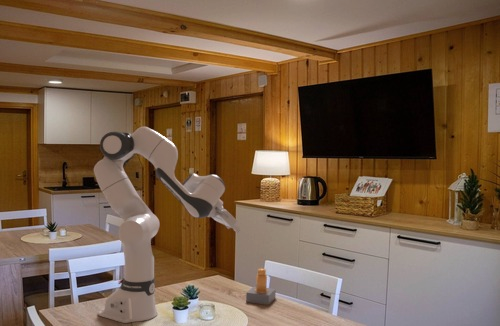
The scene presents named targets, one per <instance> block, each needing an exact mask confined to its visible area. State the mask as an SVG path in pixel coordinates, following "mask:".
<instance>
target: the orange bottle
mask: <svg viewBox="0 0 500 326" xmlns="http://www.w3.org/2000/svg"><path fill="white" fill-rule="evenodd" d="M267 280H268V276H267V269H266V268H258V269H257V274H256V291H259V292H265V291H266V289H267V288H268V287H267V285H268V284H267V283H268V282H267Z"/></svg>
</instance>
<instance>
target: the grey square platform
mask: <svg viewBox="0 0 500 326" xmlns="http://www.w3.org/2000/svg"><path fill="white" fill-rule="evenodd" d="M276 290H277V289H276V288H270V287H267V289H266V291H265V292H259V291H256V286H255V285H254V286H253V287H252V288H250V289H249V290H248V291H247V292H246V294H245V295H246V300H245V301H246V303H253V304H259V305H265V306H266V305H267V306H269V305H271V303H272V302H273V301H274V300H275V299H276Z"/></svg>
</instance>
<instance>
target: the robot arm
mask: <svg viewBox="0 0 500 326" xmlns="http://www.w3.org/2000/svg"><path fill="white" fill-rule="evenodd" d="M99 150H100V152H101V154H102V155H104V156H103V158H102V159H100V160H99V161H97V163H95V165H94V167H93V174H94V177H95V179H96V182H97V184H98V187H99V188H100V191H101V192H102V194H103V196H104V197H105V199H106V201H107V203H108V205H109V206H110V208H111V210H112V211H114V212H115V213H116V214H117V215H118V216H119V217H120V218H121V219H122V223H121V224H120V226H119V228H118V231H117V235H118V238H119V240H120V242H121V245H122V246H121V247H122V251H123V256H124V278H122V279H120V280H118V281H117V282H118V283H117V284H118V285H120V286H119V288H118V289H117V290H115V291H113V292H112V293H110V294H109V295H108V297H107V298H106V300H105V304H104V307H103V308H101V309H100V310H99V311H98V312H97V313H98V314H97V315H98V316H99V317H103V318H104V319H105V318H106V319H109V320H112V321H116V322H119V323H121V324H122V323H123V324H127V323H132V322H143V321H148V320H151V319H153V318H156V317H157V315H158V311H157V307H156V299H155V291H156V289H155V288H156V286H155V285H156V278H155V256H154V255H153V254H154V253H153V251H152V245H151V244H152V243H151V242H152V239H153V238H154V237H155V236H156V235H157V234H158V232H159V229H160V220H159V218H158V217H157V215H156V214H154V213H153V212H152V210H151V209H150V208H149V206H148V205H147V204H146V203H145V202H144V200H143V199H142V198H141V197H140V195H139V193H138V191H136V189H135V187H134V185H133V183H132V182H131V180H130V178H129V176H128V175H127V173H126V172H125V169H124V166H126V165H127V164H128V162H130V160H131V159H133V158H134V156H135V155H136V154H138V155H140V156H142V157H143V158H145V159H147V161H148V162H150V163H151V164H152V165H153V166H154V168H155V175H156V178H157V179H158V180H159V181H160V182H161V183H162V184H163V186H164V187H165V188H166V189H167V190H168V191H169V192H170V193H171V194H172V195H173V196H174V197H175V198H176V199H177V200H178V201H179V202H180V203H181V205H182V206H183V207H184V209H185V210H186V211H187V213H189V215H191V216H192V217H194V219H195V218H196V219H202V218H212V219H213V221H216V222H217V223H219V224H222V225H223V226H225V227H226V228H227V229H228V230H230V229H232V230H233V231H234V232H235V233H240V231H241V229H240V228H239V226H238V220H237V219H236V218H235V217H234V216H233V214H231V213H230V212H229V211H228V210H227V209H225V208H224V201H223V200H221V199H220V198H221V197H222V196H223V195H224V193H225V190H226V184H225V182H224V181H223V179H222V178H221V177H220V176H218V175H217V174H208V175H204V176H203V175H202V176H201V175H198V174H197V173H191V174H190V175H189V176H187V178H186V179H185V180H184V181H183V182H182V183H181V182H180V181H179V180H178V179H177V177H176V175H175V170H176V167H177V163H178V159H179V151H178V148H177V146H176V145H175V144H174V143H173V141H171V140H169V139H168V138H167V137H165V136H164V135H162V134H160V133H159V132H158V131H156V130H154V129H152V128H150V127H148V126H140V127H138V128H137V129H136V130H135V131H133V133H132V134H131V133H130V132H123V131H115V130H113V131H110V132H108V133H106V134H104V135H103V136H102V137H101V139H100V142H99Z"/></svg>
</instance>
